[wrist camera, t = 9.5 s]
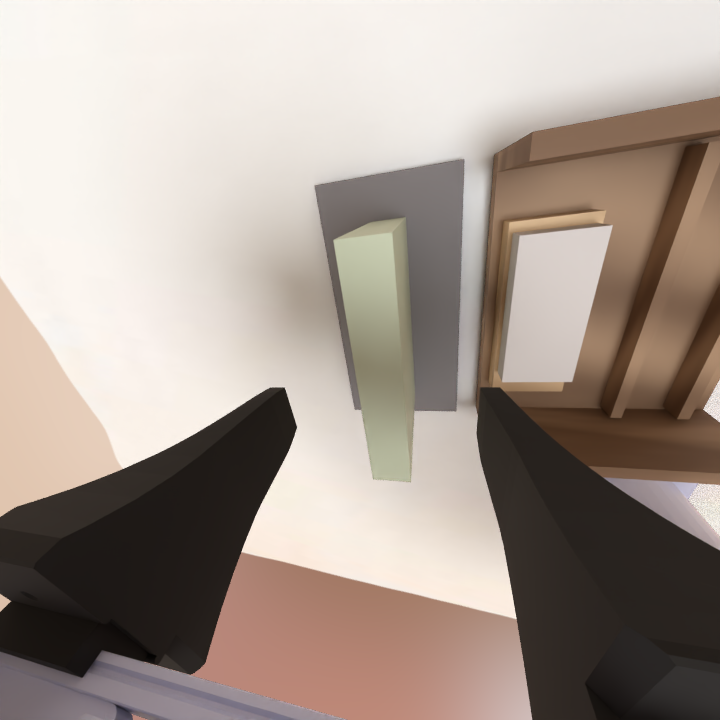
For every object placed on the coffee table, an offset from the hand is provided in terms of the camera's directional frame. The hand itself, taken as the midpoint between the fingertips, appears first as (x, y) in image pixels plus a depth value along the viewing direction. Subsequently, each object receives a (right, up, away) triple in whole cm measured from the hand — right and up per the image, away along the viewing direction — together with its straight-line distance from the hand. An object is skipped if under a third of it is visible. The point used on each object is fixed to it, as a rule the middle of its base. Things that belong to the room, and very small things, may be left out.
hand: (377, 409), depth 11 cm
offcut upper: (+9, +5, +5) cm, 11 cm away
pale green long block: (+2, +5, +8) cm, 10 cm away
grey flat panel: (+2, +5, +9) cm, 10 cm away
